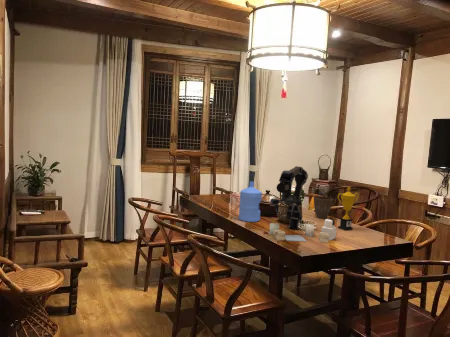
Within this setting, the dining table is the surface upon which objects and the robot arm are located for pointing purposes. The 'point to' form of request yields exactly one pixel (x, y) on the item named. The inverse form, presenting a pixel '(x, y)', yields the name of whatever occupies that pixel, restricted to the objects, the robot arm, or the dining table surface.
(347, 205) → the trophy
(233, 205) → the dining table surface
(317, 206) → the plant pot
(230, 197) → the dining table surface
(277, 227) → the pale curved piece
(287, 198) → the robot arm
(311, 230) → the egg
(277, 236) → the beech block
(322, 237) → the beech block
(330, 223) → the medicine bottle
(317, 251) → the dining table surface
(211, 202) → the dining table surface
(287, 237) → the felt mat
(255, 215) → the water jug
